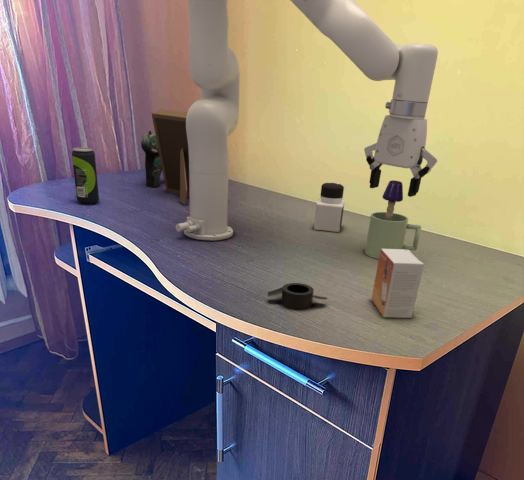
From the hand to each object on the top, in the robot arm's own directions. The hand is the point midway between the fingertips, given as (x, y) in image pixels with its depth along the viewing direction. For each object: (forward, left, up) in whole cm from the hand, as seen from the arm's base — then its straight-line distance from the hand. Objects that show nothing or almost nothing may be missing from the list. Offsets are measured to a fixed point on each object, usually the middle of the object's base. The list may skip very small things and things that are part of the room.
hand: (392, 191), depth 119 cm
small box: (-29, -17, -15) cm, 37 cm away
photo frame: (+1, +71, -15) cm, 72 cm away
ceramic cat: (+11, +92, -15) cm, 94 cm away
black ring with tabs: (-40, -3, -15) cm, 43 cm away
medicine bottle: (+9, +22, -15) cm, 28 cm away
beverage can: (-26, +84, -15) cm, 89 cm away
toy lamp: (0, 0, -15) cm, 15 cm away
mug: (+1, -2, -15) cm, 15 cm away
